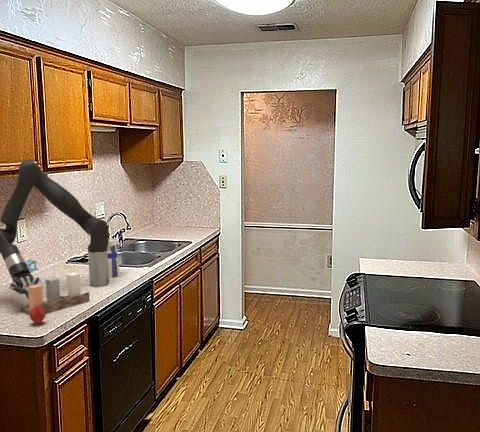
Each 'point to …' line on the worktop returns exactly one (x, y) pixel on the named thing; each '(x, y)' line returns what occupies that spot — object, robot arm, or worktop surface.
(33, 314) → the onion
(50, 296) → the grey rectangular block
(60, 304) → the wooden divided tray
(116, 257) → the water bottle
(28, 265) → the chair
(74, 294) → the cream rectangular block
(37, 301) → the orange block
